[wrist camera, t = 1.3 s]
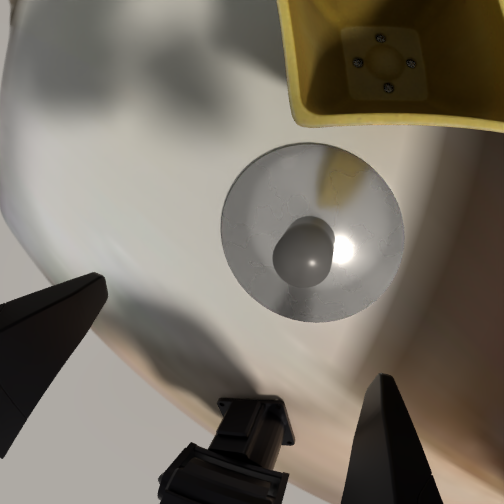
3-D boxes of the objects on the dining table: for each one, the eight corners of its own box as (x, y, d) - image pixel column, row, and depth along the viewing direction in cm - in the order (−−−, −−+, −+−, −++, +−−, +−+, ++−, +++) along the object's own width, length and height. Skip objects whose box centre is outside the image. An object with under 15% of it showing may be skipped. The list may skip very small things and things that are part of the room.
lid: (409, 307, 20) (417, 340, 16) (249, 323, 24) (231, 354, 21) (384, 127, 16) (393, 124, 13) (204, 168, 21) (174, 177, 17)
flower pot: (301, 3, 15) (260, -75, 7) (437, 4, 12) (478, -67, 4) (319, 133, 17) (291, 129, 9) (458, 135, 15) (534, 138, 7)
